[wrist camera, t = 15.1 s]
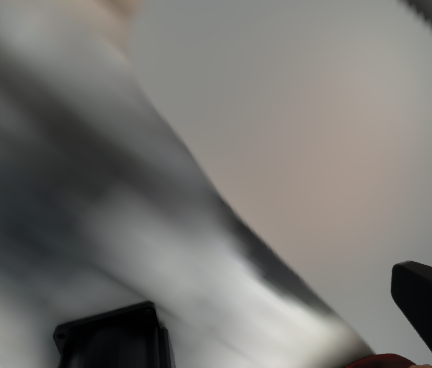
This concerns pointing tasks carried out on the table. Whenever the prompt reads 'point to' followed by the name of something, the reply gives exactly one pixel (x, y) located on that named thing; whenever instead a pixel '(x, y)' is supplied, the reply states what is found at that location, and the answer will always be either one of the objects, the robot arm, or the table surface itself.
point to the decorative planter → (386, 362)
